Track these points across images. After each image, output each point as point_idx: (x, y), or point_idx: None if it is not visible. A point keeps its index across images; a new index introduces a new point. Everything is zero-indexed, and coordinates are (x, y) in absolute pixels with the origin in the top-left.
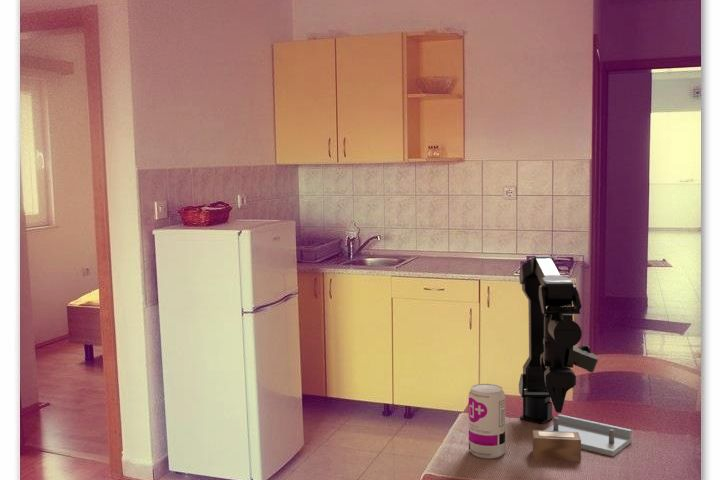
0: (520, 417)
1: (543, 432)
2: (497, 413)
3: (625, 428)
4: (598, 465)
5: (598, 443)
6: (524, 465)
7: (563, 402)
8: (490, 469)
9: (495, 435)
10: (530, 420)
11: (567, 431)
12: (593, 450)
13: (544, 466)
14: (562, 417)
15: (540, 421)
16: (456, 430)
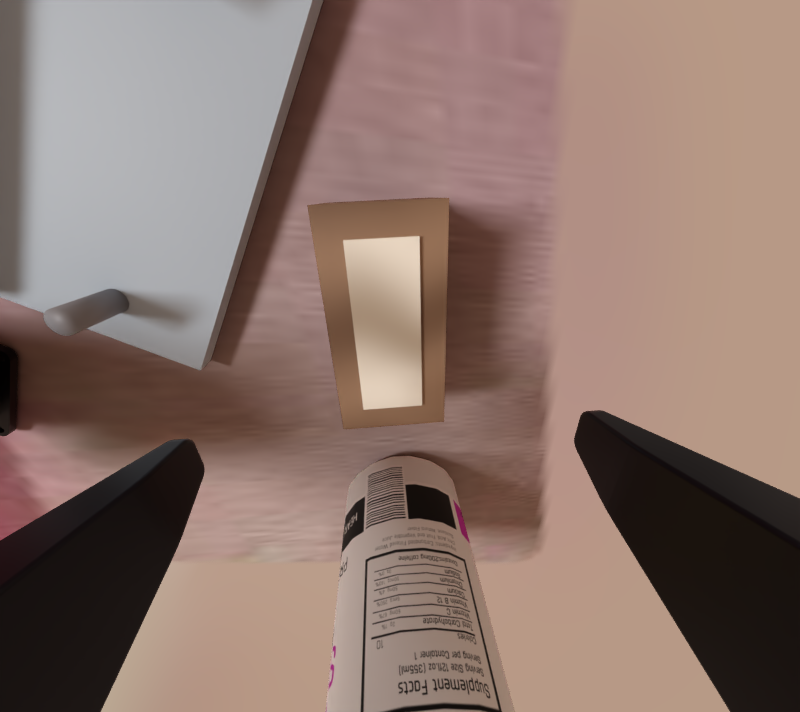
0: (9, 432)
1: (374, 389)
2: (486, 634)
3: None
4: (467, 108)
5: (218, 62)
6: (486, 398)
7: (747, 479)
8: (518, 471)
9: (465, 536)
10: (14, 396)
11: (102, 243)
12: (285, 111)
13: (491, 341)
14: None
15: (5, 361)
16: (248, 561)
